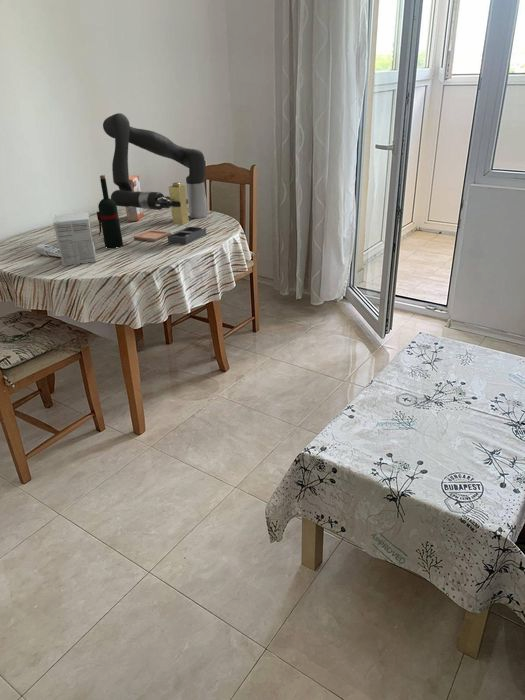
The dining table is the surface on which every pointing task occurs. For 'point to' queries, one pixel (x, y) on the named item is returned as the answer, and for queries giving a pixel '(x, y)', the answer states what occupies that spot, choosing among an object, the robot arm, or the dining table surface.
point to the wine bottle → (109, 219)
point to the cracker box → (132, 212)
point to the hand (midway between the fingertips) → (183, 202)
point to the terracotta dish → (152, 235)
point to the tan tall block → (179, 195)
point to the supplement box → (75, 238)
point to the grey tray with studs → (186, 235)
